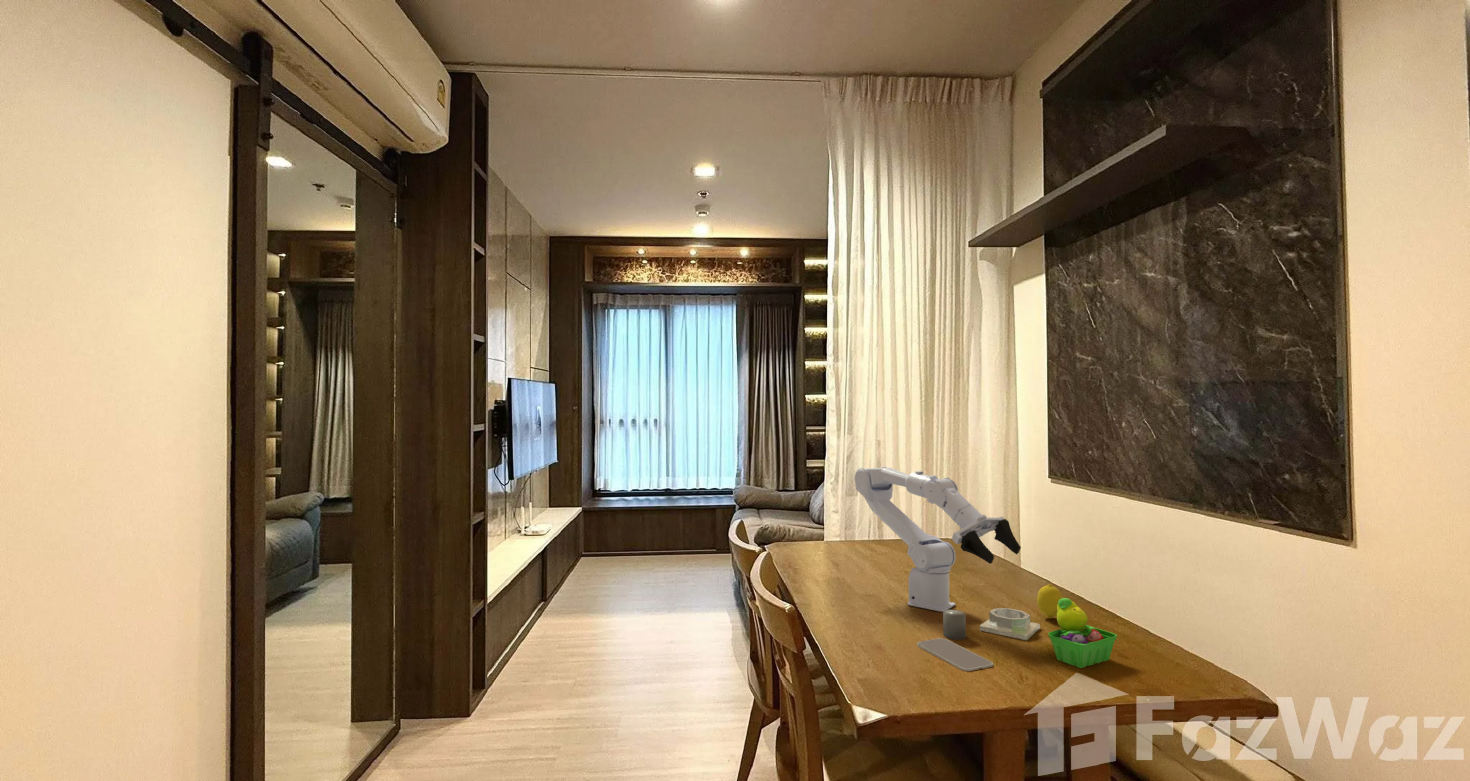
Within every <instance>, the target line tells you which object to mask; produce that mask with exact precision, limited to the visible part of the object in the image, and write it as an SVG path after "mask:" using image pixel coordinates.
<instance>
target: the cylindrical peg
mask: <svg viewBox="0 0 1470 781" xmlns="http://www.w3.org/2000/svg"><path fill="white" fill-rule="evenodd" d="M942 613H943V614H942V615H943V616H942V618H943V619H942V622H943V623H942V625H943V629H942V630H943V637H944V636H945V637H944V638H945V639H948V640H949V639H950V640H954V641H961V640H965V639H966V636H967V633H966V629H967V628H966V627H967V626H966V625H967V624H966V623H967V622H966V612H963V611H962V610H958V609H948V610H945V611H943V612H942Z"/></svg>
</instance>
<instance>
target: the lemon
mask: <svg viewBox="0 0 1470 781" xmlns="http://www.w3.org/2000/svg"><path fill="white" fill-rule="evenodd" d="M1036 596H1037V598H1036V604H1037V607H1038V609H1039V611H1040V613H1042V614H1043V615H1046V617H1047V618H1048V619H1052V618H1054V617H1057V612H1058V610H1057V605H1058V601H1059V600H1060V599H1062V598H1063V596H1062V593H1061V591H1060V590H1059V589H1058V588H1057V587H1055V586H1053V585H1052V584H1049V583H1048V584H1047V585H1044V586H1042V587H1041V588H1040V589H1039V590H1038V592H1037V595H1036Z"/></svg>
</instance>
